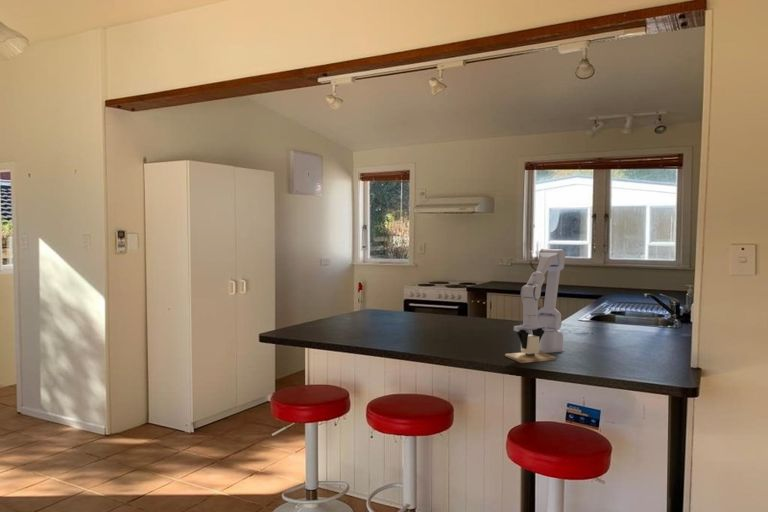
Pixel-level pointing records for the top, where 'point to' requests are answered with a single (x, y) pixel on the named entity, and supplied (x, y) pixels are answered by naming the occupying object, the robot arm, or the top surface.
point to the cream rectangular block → (531, 345)
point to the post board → (530, 357)
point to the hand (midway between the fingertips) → (530, 347)
